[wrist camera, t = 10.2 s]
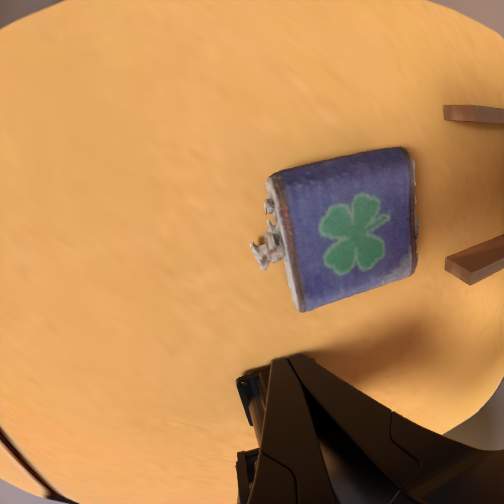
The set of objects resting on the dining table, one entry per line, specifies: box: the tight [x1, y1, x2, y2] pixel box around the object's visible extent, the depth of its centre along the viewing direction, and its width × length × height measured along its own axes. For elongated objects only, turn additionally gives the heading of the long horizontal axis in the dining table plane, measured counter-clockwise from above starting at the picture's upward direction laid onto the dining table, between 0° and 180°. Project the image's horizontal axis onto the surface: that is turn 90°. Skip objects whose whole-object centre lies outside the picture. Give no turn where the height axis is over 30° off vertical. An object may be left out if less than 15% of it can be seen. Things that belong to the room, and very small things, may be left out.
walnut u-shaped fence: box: [443, 105, 504, 285], centre depth 20 cm, size 14×13×4 cm
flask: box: [250, 147, 419, 313], centre depth 18 cm, size 9×3×11 cm
